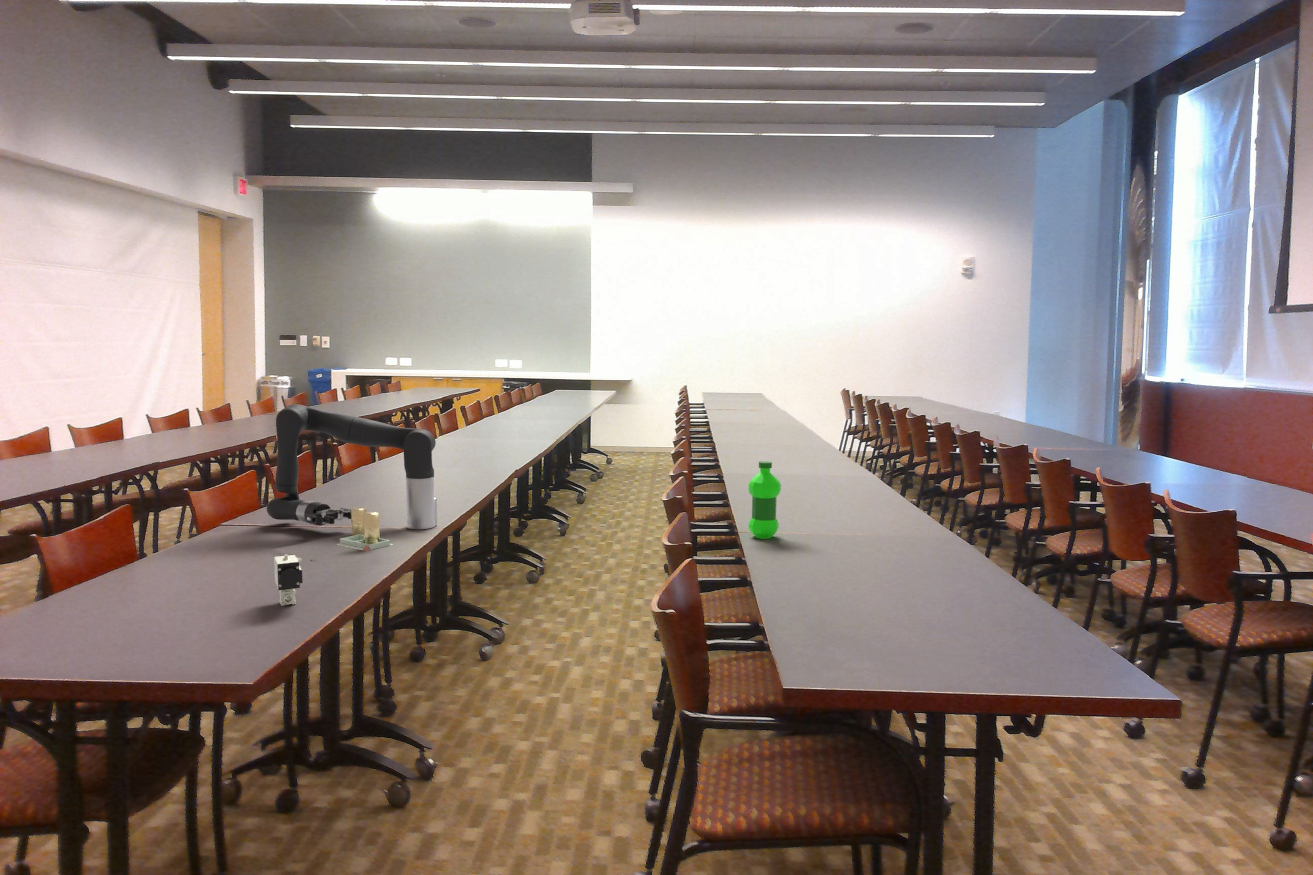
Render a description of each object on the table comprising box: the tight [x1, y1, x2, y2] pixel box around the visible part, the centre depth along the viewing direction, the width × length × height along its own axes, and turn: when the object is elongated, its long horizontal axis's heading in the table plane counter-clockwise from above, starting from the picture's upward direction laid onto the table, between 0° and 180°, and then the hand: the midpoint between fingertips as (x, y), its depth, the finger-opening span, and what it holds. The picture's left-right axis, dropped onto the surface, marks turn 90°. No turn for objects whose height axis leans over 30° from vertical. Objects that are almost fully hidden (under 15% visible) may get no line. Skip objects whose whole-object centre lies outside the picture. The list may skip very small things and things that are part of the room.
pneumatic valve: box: [273, 553, 303, 607], centre depth 205 cm, size 6×12×12 cm, turn 29°
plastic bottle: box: [748, 460, 782, 540], centre depth 281 cm, size 10×10×25 cm
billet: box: [350, 507, 367, 536], centre depth 271 cm, size 4×4×10 cm
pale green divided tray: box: [336, 534, 394, 552], centre depth 260 cm, size 10×14×3 cm
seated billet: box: [363, 511, 381, 544], centre depth 257 cm, size 4×4×10 cm
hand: (345, 518), depth 275 cm, fingers open, 8 cm apart
